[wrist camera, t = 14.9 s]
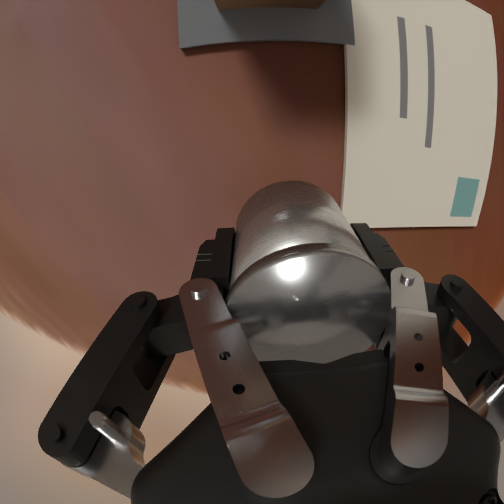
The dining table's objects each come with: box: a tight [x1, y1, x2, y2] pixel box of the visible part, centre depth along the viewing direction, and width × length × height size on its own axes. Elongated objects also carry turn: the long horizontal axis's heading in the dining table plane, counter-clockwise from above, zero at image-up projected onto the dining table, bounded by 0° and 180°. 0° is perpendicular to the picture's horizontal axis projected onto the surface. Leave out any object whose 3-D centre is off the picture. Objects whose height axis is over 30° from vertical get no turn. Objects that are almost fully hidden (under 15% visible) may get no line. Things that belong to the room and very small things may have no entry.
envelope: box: [340, 0, 497, 228], centre depth 12 cm, size 12×17×1 cm
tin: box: [225, 180, 391, 363], centre depth 11 cm, size 5×5×6 cm
